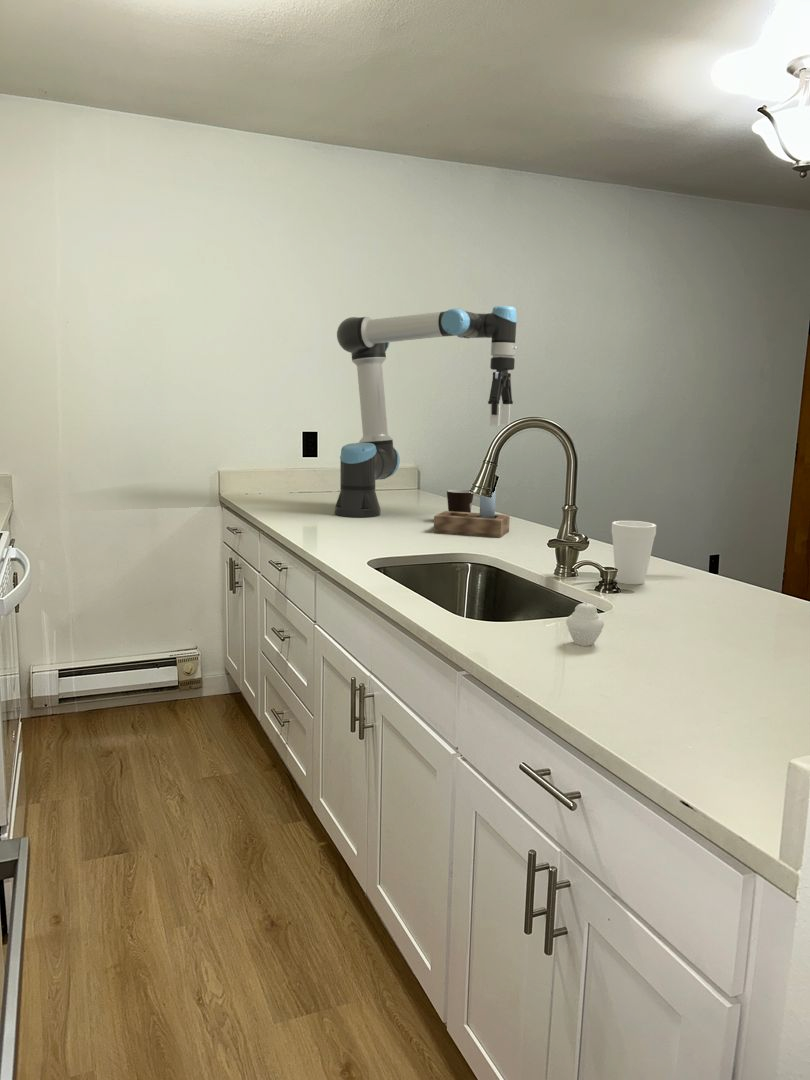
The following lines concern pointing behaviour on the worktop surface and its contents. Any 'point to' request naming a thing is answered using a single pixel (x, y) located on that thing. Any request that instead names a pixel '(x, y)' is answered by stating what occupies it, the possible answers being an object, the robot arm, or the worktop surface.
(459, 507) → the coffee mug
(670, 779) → the worktop surface
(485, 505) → the peg
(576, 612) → the white lidded urn
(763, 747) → the worktop surface
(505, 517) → the socket block
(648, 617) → the worktop surface
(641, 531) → the foam cup
